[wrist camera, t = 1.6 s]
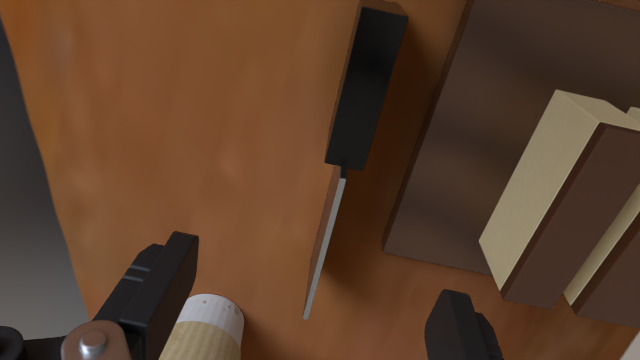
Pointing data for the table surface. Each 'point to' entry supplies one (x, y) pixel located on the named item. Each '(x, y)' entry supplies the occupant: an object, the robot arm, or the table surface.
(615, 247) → the cake
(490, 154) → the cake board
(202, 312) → the coffee cup
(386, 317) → the table surface
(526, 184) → the cake slice
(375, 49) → the knife
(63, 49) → the table surface
